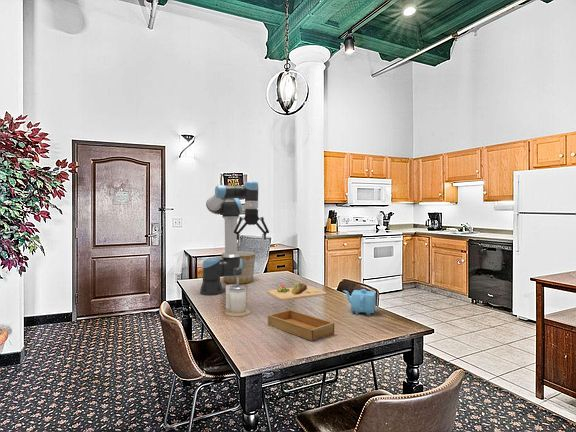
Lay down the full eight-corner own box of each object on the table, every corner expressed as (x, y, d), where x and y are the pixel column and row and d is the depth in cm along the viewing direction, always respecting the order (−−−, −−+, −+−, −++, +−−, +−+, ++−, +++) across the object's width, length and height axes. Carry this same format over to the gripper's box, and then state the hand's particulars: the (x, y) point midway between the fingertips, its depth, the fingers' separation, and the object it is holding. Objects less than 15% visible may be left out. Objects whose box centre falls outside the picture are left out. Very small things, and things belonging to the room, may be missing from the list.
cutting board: (281, 301, 229) (281, 289, 229) (266, 293, 250) (266, 282, 250) (327, 295, 245) (328, 284, 245) (310, 288, 266) (310, 277, 266)
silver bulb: (229, 286, 206) (229, 267, 205) (244, 286, 208) (244, 266, 207) (230, 290, 198) (230, 270, 197) (246, 289, 200) (246, 269, 199)
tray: (267, 325, 183) (267, 314, 183) (290, 319, 193) (290, 308, 193) (311, 343, 160) (311, 330, 160) (334, 334, 171) (334, 322, 170)
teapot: (375, 309, 210) (376, 287, 210) (372, 317, 196) (373, 293, 195) (344, 306, 216) (344, 285, 216) (339, 314, 202) (339, 290, 201)
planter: (222, 278, 296) (222, 251, 296) (254, 277, 299) (254, 251, 299) (220, 285, 271) (220, 256, 270) (255, 284, 273) (255, 255, 273)
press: (224, 309, 208) (224, 286, 208) (248, 308, 212) (248, 285, 211) (226, 317, 195) (226, 292, 194) (252, 315, 198) (252, 290, 198)
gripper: (229, 208, 203) (229, 246, 204) (274, 208, 209) (273, 245, 209) (229, 208, 211) (229, 245, 211) (271, 208, 216) (271, 244, 217)
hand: (251, 245), depth 210 cm, fingers open, 13 cm apart
